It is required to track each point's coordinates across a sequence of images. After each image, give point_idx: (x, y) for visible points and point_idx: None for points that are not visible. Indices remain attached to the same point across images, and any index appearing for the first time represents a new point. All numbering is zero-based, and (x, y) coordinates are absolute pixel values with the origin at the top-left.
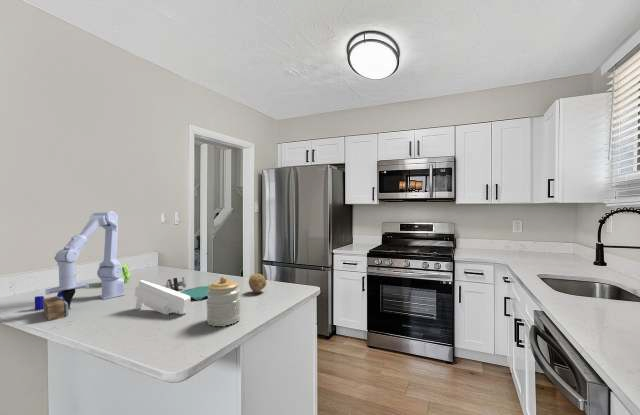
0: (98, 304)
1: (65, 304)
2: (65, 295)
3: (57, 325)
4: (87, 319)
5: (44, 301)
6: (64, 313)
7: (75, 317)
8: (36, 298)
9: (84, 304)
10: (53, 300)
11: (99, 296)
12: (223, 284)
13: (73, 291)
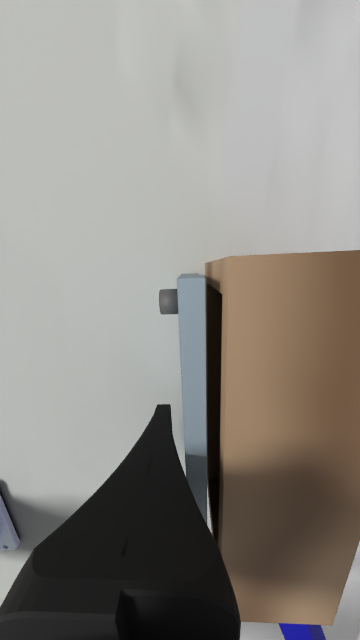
0: (14, 407)
1: (204, 291)
2: (183, 528)
3: (285, 36)
4: (63, 8)
5: (346, 548)
6: (208, 263)
7: (145, 192)
8: None
9: (86, 464)
10: (290, 511)
11: (18, 539)
12: None
13: (24, 604)
